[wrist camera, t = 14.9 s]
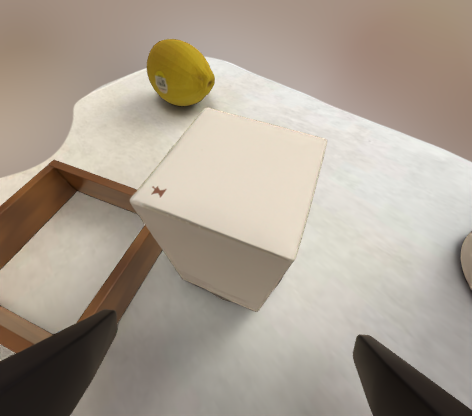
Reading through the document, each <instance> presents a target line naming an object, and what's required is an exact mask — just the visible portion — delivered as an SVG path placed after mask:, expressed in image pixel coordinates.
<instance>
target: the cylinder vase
mask: <svg viewBox="0 0 472 416" xmlns="http://www.w3.org/2000/svg"><path fill="white" fill-rule="evenodd" d="M461 264H462V269H463V272H464V275H465V278H466V280H467V282H468V284H469V286H470V288H471V290H472V231H471V232H470V233H469V234H468V235H467V237H466V238H465V240H464V242H463V244H462V248H461Z"/></svg>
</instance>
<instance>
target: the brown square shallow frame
mask: <svg viewBox="0 0 472 416" xmlns="http://www.w3.org/2000/svg"><path fill="white" fill-rule="evenodd" d="M76 190H77V191H79V192H82V193H84V194H87V195H90V196H92V197H95V198H97V199H100V200H103V201H105V202H108V203H110V204H113V205H116V206H118V207H121V208H123V209H126V210H129V211H131V212H134V213H136V214H137V212H136V211H135V209H134V208H133V207H132V205H131V203H130V198H131V197H132V196H133V195H134V194H135V193H136V192H137V190H136V189H134V188H131V187H128V186H125V185H123V184H120V183H117V182H114V181H112V180H109V179H106V178H103V177H101V176H98V175H95V174H92V173H89V172H87V171H84V170H81V169H78V168H76V167H73V166H70V165H67V164H65V163H62V162H59V161H56V160H53V161H52V162H51V163H49V164H48V165H47V166H46V167H45V168H44V169H43V170H42V171H40V172H39V173H38V174H37V175H36V176H35V177H33V178H32V179H31V180H30V181H29V182H28V183H26V184H25V185H24V186H23V187H22V188H21V189H20V190H18V191H17V192H16V193H15V194H14V195H13V196H11V197H10V198H9V199H8V200H7V201H6V202H4V203H3V204H2V205H1V206H0V269H1V268H2V267H3V266H4V265H5V264H6V263H7V262H8V261H9V260H10V259H11V258H12V257H13V256H14V255H15V254H16V253H17V252H18V251H19V250H20V249H21V248H22V247H23V246H24V245H25V244H26V243H27V242H28V241H29V240H30V238H31V237H32V236H33V235H34V234H35V233H36V232H37V231H38V230H39V229H40V228H41V227H42V226H43V225H44V224H45V223H46V222H47V221H48V220H49V219H50V218H51V217H52V216H53V215H54V214H55V213H56V212H57V211H58V210H59V209H60V208H61V207H62V206H63V205H64V204H65V203H66V202H67V201H68V200H69V199H70V198H71V197H72V196H73V195H74V194H75V192H76ZM161 251H162V248H161V247H160V245H159V244H158V243H157V241H156V240H155V238H154V237H153V235H152V234H151V232H150V231H149V230H148V228H147V227H146V225H145V226H144V227H143V229H142V230H141V231H140V233H139V234H138V236H137V237H136V239H135V240H134V241H133V243H132V244H131V246H130V247H129V249H128V250H127V251H126V253H125V254H124V256H123V257H122V259H121V260H120V261H119V263H118V264H117V266H116V267H115V269H114V270H113V271H112V273H111V274H110V276H109V277H108V279H107V280H106V281H105V283H104V284H103V286H102V287H101V289H100V290H99V291H98V293H97V294H96V296H95V297H94V299H93V300H92V301H91V303H90V304H89V306H88V307H87V309H86V310H85V311H84V313H83V314H82V316H81V317H80V319H79V320H78V321H77V323H78V322H80V321H82V320H84V319H86V318H88V317H90V316H92V315H94V314H96V313H98V312H100V311H102V310H104V309H110V310H115V311H116V313H117V323H118V322H119V320H120V318H121V317H122V315H123V313H124V312H125V310H126V308H127V307H128V305H129V304H130V302H131V300H132V299H133V297H134V295H135V294H136V292H137V290H138V289H139V287H140V286H141V284H142V282H143V281H144V279H145V277H146V276H147V274H148V272H149V271H150V269H151V268H152V266H153V264H154V263H155V261H156V259H157V258H158V256H159V254H160V253H161ZM52 335H53V334H51V333H49V332H47V331H45V330H44V329H42V328H40V327H38V326H36V325H34V324H33V323H31V322H29V321H27V320H25V319H24V318H22V317H20V316H18V315H16V314H14V313H13V312H11V311H9V310H7V309H5V308H4V307H2V306H0V344H1V345H3V346H5V347H6V348H8V349H10V350H11V351H13V352H15V353H18V352H20V351H22V350H24V349H26V348H28V347H30V346H32V345H34V344H36V343H38V342H40V341H42V340H44V339H46V338H48V337H50V336H52Z"/></svg>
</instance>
